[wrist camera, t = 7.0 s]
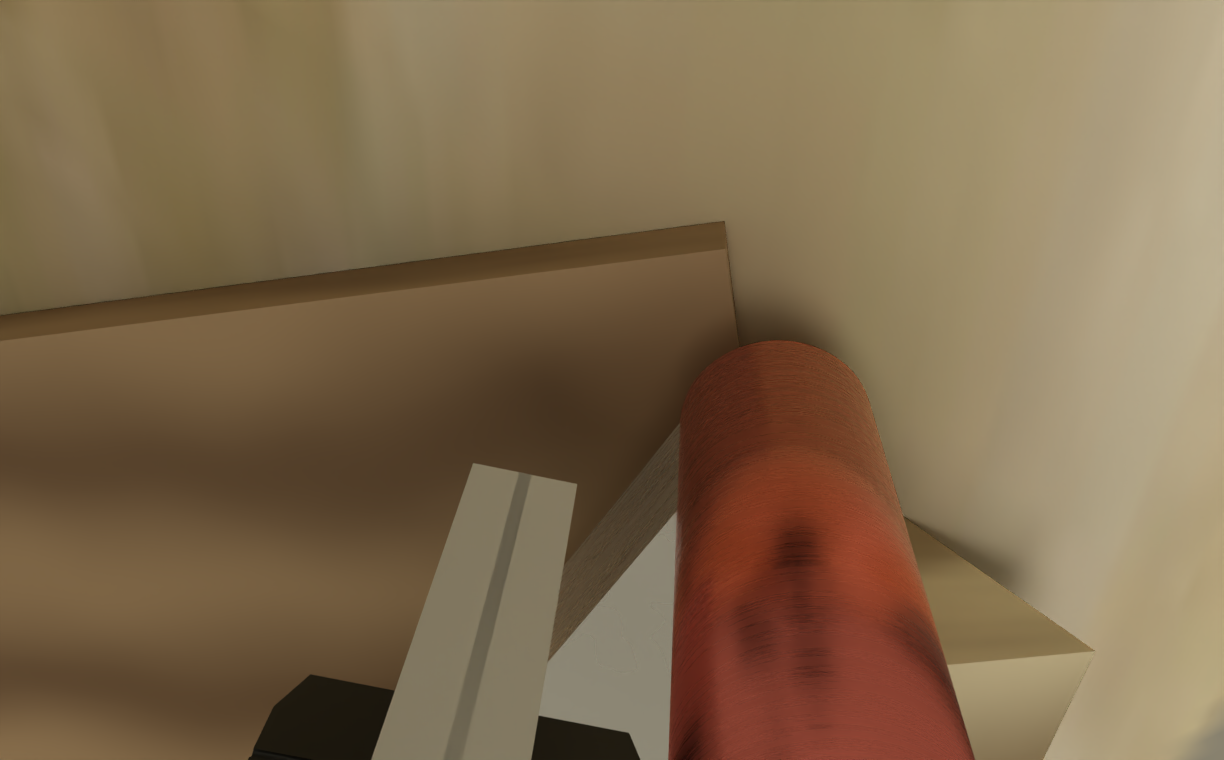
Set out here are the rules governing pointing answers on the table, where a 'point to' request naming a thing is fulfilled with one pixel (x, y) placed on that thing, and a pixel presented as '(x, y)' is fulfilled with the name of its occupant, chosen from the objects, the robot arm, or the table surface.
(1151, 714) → the table surface
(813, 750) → the lever
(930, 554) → the block
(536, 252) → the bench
